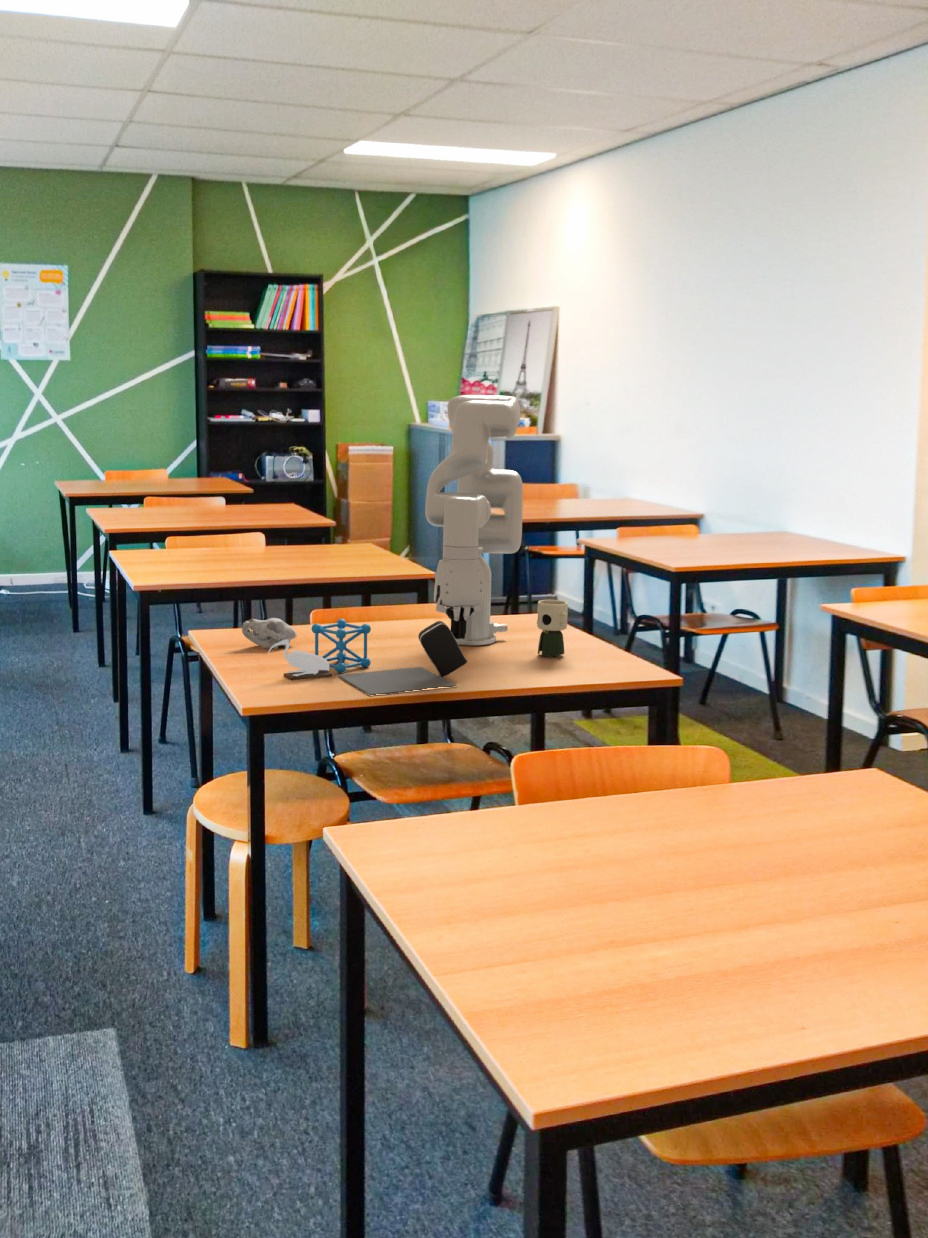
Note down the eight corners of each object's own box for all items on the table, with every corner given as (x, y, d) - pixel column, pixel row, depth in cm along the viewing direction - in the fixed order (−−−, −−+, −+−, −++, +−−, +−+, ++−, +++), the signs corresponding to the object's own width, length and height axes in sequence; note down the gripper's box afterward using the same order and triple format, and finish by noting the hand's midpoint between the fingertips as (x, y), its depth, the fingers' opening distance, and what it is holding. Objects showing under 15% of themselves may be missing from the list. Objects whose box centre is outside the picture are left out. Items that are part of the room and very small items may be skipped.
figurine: (271, 683, 266) (270, 643, 264) (265, 678, 270) (264, 639, 268) (333, 677, 272) (333, 638, 270) (326, 673, 276) (326, 634, 274)
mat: (420, 668, 281) (420, 666, 281) (457, 687, 265) (457, 685, 265) (337, 676, 272) (337, 674, 272) (370, 696, 256) (370, 694, 256)
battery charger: (464, 656, 276) (441, 615, 271) (469, 662, 273) (446, 621, 267) (437, 672, 275) (413, 632, 270) (441, 679, 272) (418, 638, 267)
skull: (302, 637, 298) (266, 606, 292) (277, 665, 297) (240, 634, 292) (295, 629, 305) (259, 598, 300) (270, 656, 304) (234, 625, 299)
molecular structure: (309, 667, 280) (309, 623, 278) (341, 660, 287) (341, 617, 285) (340, 674, 274) (340, 630, 272) (372, 667, 281) (373, 623, 279)
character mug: (525, 652, 299) (527, 599, 296) (549, 650, 302) (551, 597, 300) (552, 662, 290) (554, 607, 287) (576, 659, 293) (579, 604, 291)
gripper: (482, 551, 276) (480, 633, 279) (421, 553, 269) (419, 637, 272) (499, 554, 269) (496, 638, 272) (437, 556, 262) (435, 643, 265)
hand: (458, 637), depth 272 cm, fingers closed
